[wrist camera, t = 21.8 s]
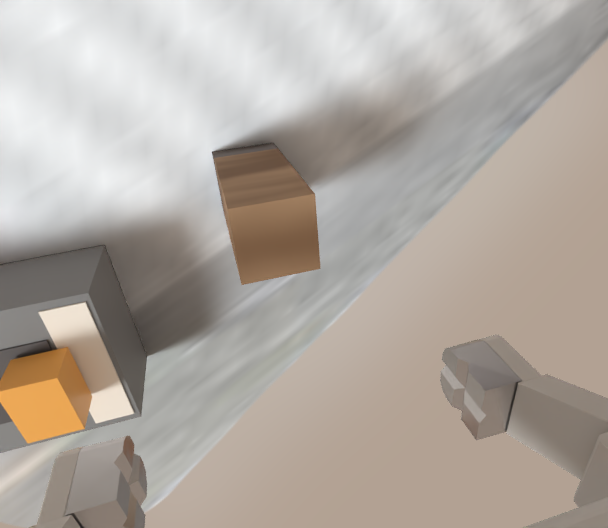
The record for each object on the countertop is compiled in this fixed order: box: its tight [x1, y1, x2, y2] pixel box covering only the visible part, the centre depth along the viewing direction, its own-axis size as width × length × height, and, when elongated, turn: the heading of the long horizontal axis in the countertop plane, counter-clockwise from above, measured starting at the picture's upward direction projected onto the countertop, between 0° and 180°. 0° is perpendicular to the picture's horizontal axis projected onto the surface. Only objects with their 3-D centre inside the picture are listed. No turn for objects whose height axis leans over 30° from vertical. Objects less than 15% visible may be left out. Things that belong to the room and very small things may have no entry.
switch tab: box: [0, 347, 92, 443], centre depth 24 cm, size 4×3×2 cm
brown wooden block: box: [212, 143, 320, 285], centre depth 24 cm, size 4×4×10 cm
